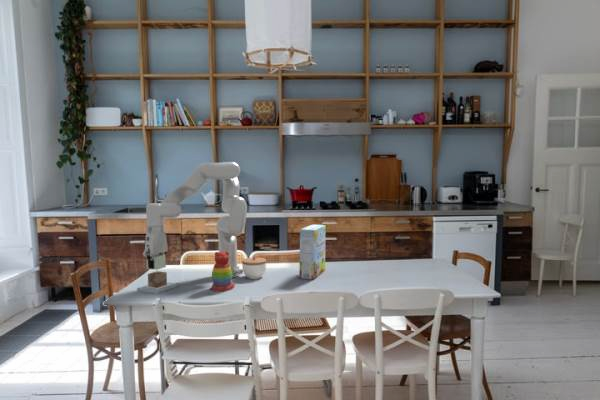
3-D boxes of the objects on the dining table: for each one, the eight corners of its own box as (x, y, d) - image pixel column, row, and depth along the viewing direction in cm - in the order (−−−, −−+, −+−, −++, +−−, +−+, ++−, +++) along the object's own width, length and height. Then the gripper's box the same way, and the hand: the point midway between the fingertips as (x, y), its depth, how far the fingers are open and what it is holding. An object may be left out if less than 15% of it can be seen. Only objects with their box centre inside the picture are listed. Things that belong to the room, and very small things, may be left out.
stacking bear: (235, 285, 205) (234, 249, 204) (232, 291, 195) (231, 253, 194) (212, 285, 205) (211, 249, 204) (209, 292, 195) (208, 253, 194)
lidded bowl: (262, 281, 213) (262, 259, 212) (238, 279, 216) (238, 258, 215) (269, 274, 225) (269, 254, 225) (246, 273, 228) (246, 253, 227)
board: (177, 285, 206) (177, 283, 205) (156, 293, 193) (156, 290, 193) (158, 283, 211) (158, 280, 211) (136, 290, 198) (136, 288, 198)
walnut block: (166, 284, 203) (166, 272, 203) (157, 287, 198) (157, 275, 197) (157, 283, 206) (157, 271, 205) (148, 286, 200) (147, 274, 200)
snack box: (315, 280, 213) (314, 229, 211) (298, 279, 216) (298, 229, 214) (326, 270, 234) (326, 224, 232) (311, 269, 236) (311, 223, 234)
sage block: (165, 267, 202) (165, 254, 202) (156, 269, 197) (156, 257, 197) (156, 266, 205) (155, 253, 205) (146, 268, 200) (146, 256, 199)
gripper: (147, 232, 190) (148, 271, 192) (174, 227, 206) (175, 264, 207) (135, 231, 194) (136, 270, 195) (162, 226, 209) (163, 262, 210)
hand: (156, 266), depth 201 cm, fingers closed on sage block, 6 cm apart
